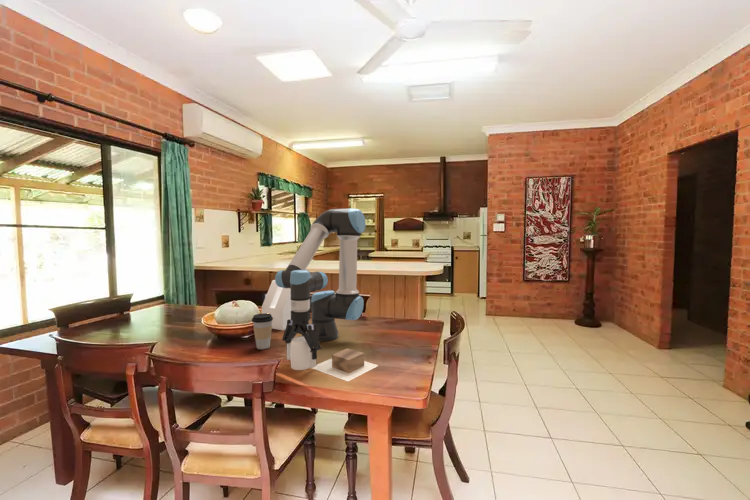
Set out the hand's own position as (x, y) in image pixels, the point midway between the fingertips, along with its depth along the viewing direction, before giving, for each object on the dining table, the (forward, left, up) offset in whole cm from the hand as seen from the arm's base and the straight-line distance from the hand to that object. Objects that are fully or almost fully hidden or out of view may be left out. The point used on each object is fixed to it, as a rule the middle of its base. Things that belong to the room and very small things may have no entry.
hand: (301, 362), depth 138 cm
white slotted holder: (-56, +35, -3) cm, 66 cm away
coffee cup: (-33, +5, -3) cm, 33 cm away
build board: (+14, +10, -2) cm, 17 cm away
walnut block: (+15, +11, -1) cm, 19 cm away
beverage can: (0, 0, -3) cm, 3 cm away
